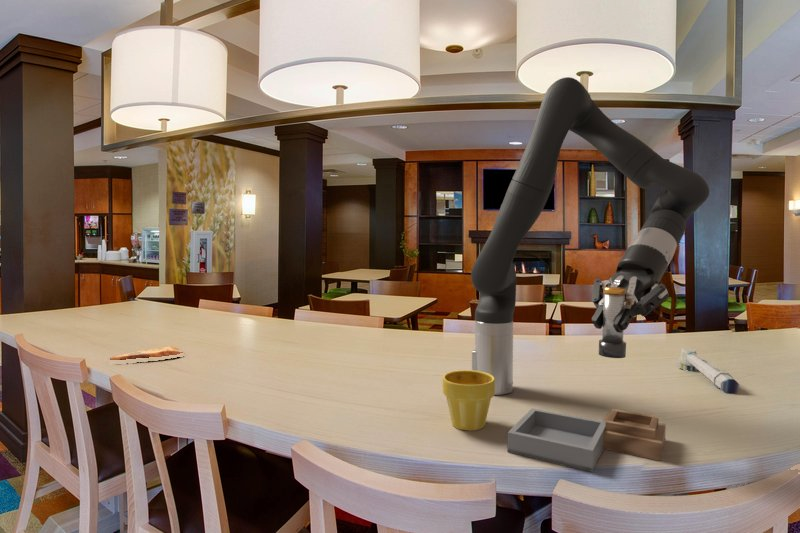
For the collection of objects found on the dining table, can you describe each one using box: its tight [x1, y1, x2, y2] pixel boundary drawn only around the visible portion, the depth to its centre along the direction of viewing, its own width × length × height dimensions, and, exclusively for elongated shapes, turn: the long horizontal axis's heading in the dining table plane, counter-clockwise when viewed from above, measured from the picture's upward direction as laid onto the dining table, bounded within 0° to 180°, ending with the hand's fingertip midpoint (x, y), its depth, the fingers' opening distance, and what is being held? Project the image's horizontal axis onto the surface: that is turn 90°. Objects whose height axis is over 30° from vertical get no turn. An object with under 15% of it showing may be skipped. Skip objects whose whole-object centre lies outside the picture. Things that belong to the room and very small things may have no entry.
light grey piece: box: [676, 346, 740, 394], centre depth 127 cm, size 5×7×25 cm
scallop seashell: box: [109, 346, 184, 360], centre depth 152 cm, size 18×18×4 cm
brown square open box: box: [602, 408, 667, 462], centre depth 86 cm, size 10×10×4 cm
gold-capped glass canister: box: [598, 287, 627, 359], centre depth 84 cm, size 4×4×12 cm
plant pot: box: [442, 369, 495, 431], centre depth 96 cm, size 10×10×10 cm
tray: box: [507, 407, 606, 473], centre depth 86 cm, size 14×14×4 cm
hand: (606, 327), depth 83 cm, fingers closed on gold-capped glass canister, 3 cm apart
